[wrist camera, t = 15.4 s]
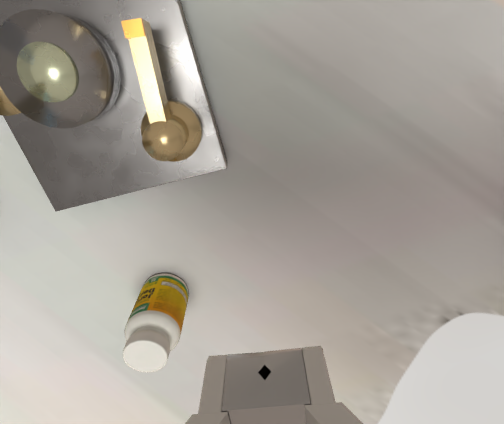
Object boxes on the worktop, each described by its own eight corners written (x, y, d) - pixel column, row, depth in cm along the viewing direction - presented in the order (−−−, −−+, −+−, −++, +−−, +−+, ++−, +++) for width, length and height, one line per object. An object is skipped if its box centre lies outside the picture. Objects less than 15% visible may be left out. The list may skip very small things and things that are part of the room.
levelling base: (142, -131, 24) (114, -184, 18) (227, 162, 33) (224, 181, 27) (-74, -60, 25) (-155, -91, 20) (65, 203, 34) (34, 228, 29)
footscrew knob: (206, 154, 30) (201, 170, 26) (152, 162, 30) (137, 178, 26) (181, 21, 26) (169, 13, 21) (117, 31, 26) (92, 25, 21)
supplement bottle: (174, 315, 40) (155, 386, 32) (134, 294, 39) (103, 363, 30) (198, 286, 39) (186, 352, 30) (158, 263, 37) (132, 325, 28)
